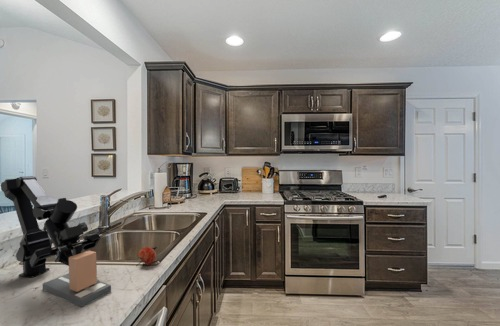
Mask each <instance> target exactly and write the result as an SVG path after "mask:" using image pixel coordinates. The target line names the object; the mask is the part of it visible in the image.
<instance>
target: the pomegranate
mask: <svg viewBox="0 0 500 326" xmlns="http://www.w3.org/2000/svg"><path fill="white" fill-rule="evenodd" d="M156 249H158V246H155V247H150V246H145V247H142V248H141V249H140V250H139V251H138V253H137V258H139V259H140V261H139V262H138V263H137V264H136V265H135V266H136V267H137V266H139V265H140V264H141V263H142V262H143V263H144V264H145V265H147V266H150V265H151V264H152V265H153V263H154V262H155V261H156V259H157V252H156Z"/></svg>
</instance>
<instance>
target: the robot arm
mask: <svg viewBox="0 0 500 326" xmlns="http://www.w3.org/2000/svg"><path fill="white" fill-rule="evenodd" d="M0 189H1V192H3V194H4V196H5V198H7V199H8V200H9V201H11V202H12V203H13V206H14V209H15V212H16V216H17V218H18V221H19V225H20V228H21V233H22V234H23V235H22V238H21V240H20V242H19V248H18V249H17V252H16V253H15V258H16V261H17V262H21V263H22V273H20V274H18V277H23V278H34V277H36V276H39V275H40V274H43V273H45V272H47V271H50V268H49V267H47V265H46V264H47V259H48V258H51V257H55V259H54V262H55V263H58V262H59V263H61V264H64V265H66V266H68V267H69V257H71V256H74V255H77V254H80V253H82V251H83V250H85V251H88V250H90V249H93V248H95V247H96V246H97V244H98V243H99V242H100V241H101V239H102V237H101V235H100V234H99V233H97V232H95V233H91V234H88V235H86V236H85V237H84V239H83V240H81V241H79V240H80V238H81V235H84V234H85V233H86V232H87V231H88V230H89V228H88V224H87V223H86V222H85V221H84V222H80V223H78V224H77V225H75V226H69V224H68V223H69V222H70V221H71V219H72V218H73V216H74V214H75V213H76V211H77V209H78V205H77V203H76V202H74V201H73V200H69V199H68V200H67V198H66V197H62V198H60V197H59V198H58V199H57V198H55V197H53V196H49V195H48V194H47V192H46V191H45V190H44V189H43V186H41V185H40V184H39V183H38V179H37V177H36V176H33V175H30V176H29V175H28V176H19V177H17V178H16V177H15V178H8V179H7V178H6V179H5V180H4V181H2V182H1V183H0ZM44 220H45V222H44V224H43V229H41V228H40V226H39V223H38V221H44ZM52 245H53V246H54V248H52Z"/></svg>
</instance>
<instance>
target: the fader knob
mask: <svg viewBox="0 0 500 326" xmlns="http://www.w3.org/2000/svg"><path fill="white" fill-rule="evenodd" d="M68 273H69V286H70V289H71V290H73V291H76V292H78V291H80V290H82V289H84V288H86V287H89V286H91V285H93V284H95V283H97V280H98V275H97V274H98V270H97V252H96V251H92V250H90V249H88V250H85V251H83V252H81V253H80V254H77V255H74V256H71V257H69V266H68Z"/></svg>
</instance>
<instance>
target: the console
mask: <svg viewBox="0 0 500 326" xmlns="http://www.w3.org/2000/svg"><path fill="white" fill-rule="evenodd" d="M41 286H42V290H43V291H45V292H47V293H50V294H51V295H54V296H56V297H58V298H61V299H63V300H65V301H67V302H69V303H72V304H73V305H76V306H78V307H80V308H82V307H84V306H87V305H88V304H89V303H92V302H93V301H96V300H98V299H100V298H101V297H103V296H104V295H105V296H106V295H107V294H109V293H110V292H112V285H111V284H110V283H106V282H104V281H100V280H98V279H97V283H95V284H93V285H91V286H89V287H86V288H84V289H82V290H80V291H78V292H76V291H73V290H71V289H70V286H69V272H68V273H66V274H63V275H60V276H58V277H55V278H53V279H50V280H48V281H46V282H43V283H42V285H41Z"/></svg>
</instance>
